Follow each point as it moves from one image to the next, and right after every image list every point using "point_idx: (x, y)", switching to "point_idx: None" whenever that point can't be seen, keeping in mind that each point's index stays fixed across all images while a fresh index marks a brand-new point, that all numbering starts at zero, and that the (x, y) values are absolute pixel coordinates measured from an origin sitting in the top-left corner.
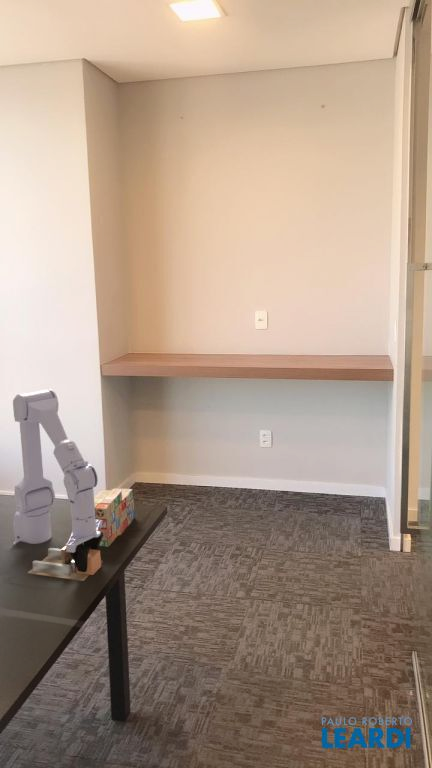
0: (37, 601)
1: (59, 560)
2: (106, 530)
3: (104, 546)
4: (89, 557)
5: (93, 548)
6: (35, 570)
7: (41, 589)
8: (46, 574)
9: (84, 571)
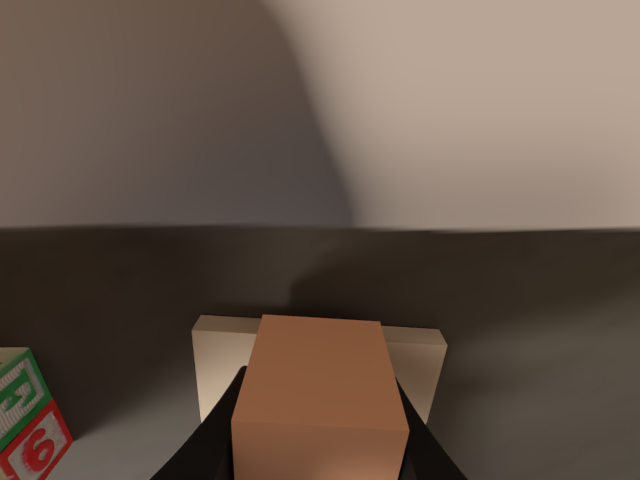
0: (593, 448)
1: None
2: None
3: (18, 384)
4: (388, 449)
5: (224, 477)
6: None
7: (488, 469)
8: None
9: (396, 381)
